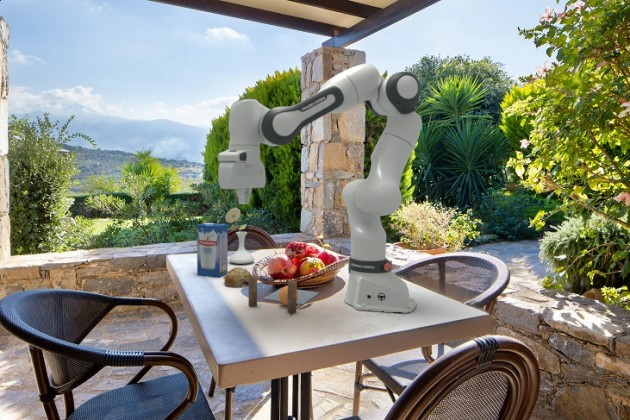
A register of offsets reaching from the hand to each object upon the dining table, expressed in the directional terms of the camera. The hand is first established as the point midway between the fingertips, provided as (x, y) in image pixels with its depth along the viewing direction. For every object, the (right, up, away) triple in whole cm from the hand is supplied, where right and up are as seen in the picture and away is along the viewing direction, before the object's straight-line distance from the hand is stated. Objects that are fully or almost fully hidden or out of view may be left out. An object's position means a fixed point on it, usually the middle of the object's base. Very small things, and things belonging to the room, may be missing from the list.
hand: (243, 204), depth 119 cm
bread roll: (-7, -29, +29) cm, 42 cm away
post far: (+2, -31, +5) cm, 31 cm away
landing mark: (+13, -30, +16) cm, 36 cm away
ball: (+13, -28, +6) cm, 31 cm away
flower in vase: (-13, -26, +63) cm, 70 cm away
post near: (+14, -32, 0) cm, 34 cm away
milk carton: (-20, -28, +41) cm, 53 cm away
